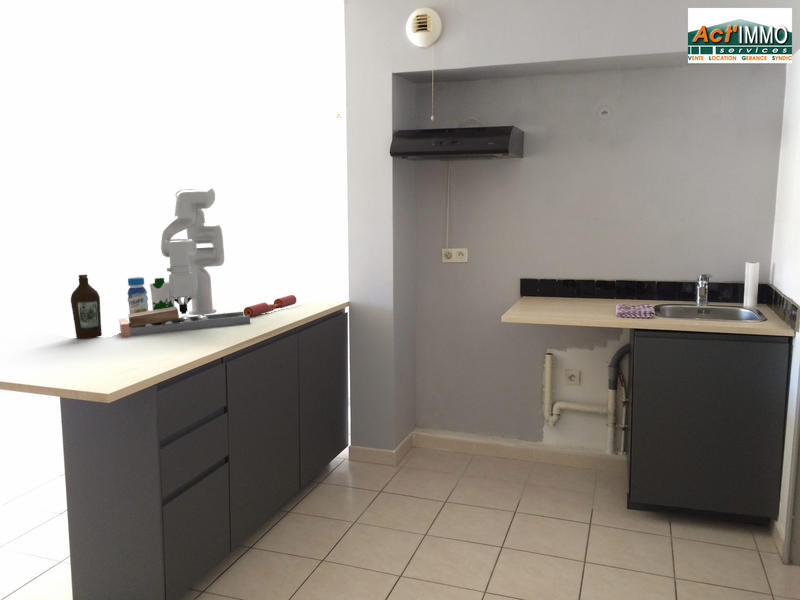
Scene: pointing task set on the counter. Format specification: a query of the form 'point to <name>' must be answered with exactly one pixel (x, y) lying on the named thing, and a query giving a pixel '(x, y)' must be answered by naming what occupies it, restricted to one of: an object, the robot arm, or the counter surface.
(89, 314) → the olive oil
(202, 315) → the roller
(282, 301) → the artery
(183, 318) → the roller
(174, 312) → the slab
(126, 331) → the track
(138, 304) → the beverage bottle
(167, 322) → the roller
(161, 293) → the milk carton
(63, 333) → the counter surface
